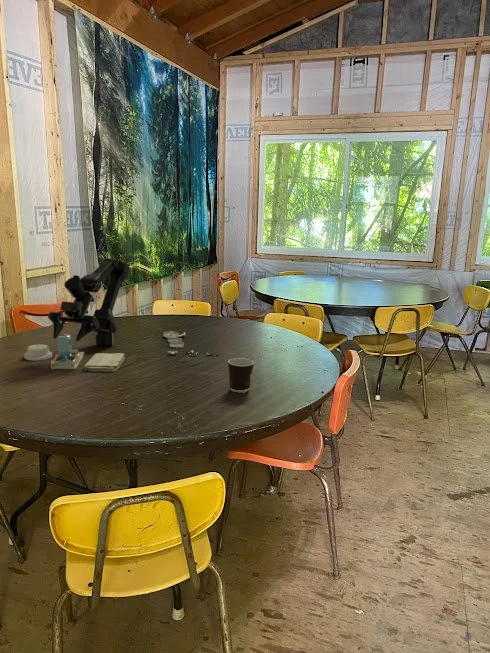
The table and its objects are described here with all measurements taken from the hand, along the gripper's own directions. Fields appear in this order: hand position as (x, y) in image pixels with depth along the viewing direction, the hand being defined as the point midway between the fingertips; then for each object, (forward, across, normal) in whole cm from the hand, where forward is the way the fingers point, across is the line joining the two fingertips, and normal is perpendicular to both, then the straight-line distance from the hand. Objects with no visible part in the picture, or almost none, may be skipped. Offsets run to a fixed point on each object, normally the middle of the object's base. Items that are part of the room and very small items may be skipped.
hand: (65, 339), depth 169 cm
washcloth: (+4, +13, +11) cm, 17 cm away
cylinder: (+7, 0, +6) cm, 9 cm away
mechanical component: (+4, -15, +11) cm, 19 cm away
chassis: (+4, -2, +10) cm, 11 cm away
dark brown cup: (+8, +68, +6) cm, 68 cm away
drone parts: (-23, +34, +38) cm, 56 cm away
